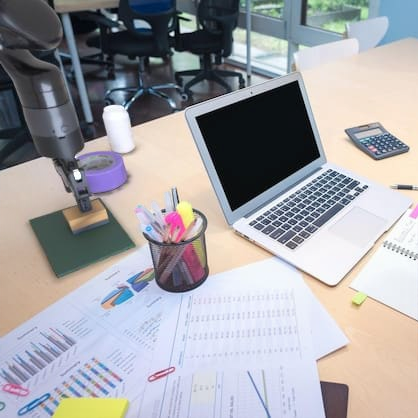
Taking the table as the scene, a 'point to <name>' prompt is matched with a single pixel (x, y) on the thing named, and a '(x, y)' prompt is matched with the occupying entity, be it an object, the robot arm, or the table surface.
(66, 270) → the chalkboard
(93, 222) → the eraser
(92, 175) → the tape roll
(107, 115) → the beverage can
